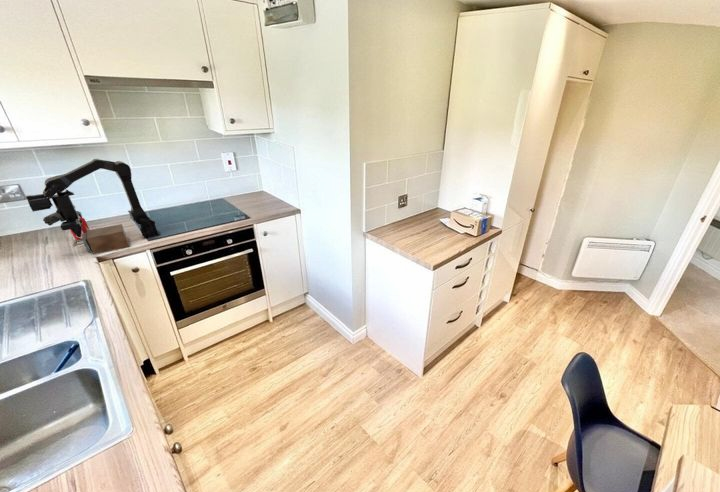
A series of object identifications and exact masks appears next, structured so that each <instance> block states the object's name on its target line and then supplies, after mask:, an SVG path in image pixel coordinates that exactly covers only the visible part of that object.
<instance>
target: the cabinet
mask: <svg viewBox="0 0 720 492" xmlns="http://www.w3.org/2000/svg"><path fill="white" fill-rule="evenodd" d="M86 239H87V241H88V243H89V245H90V247H91V249H92V253H93V255H97V254H101V253H106V252H110V251H111V252H112V251H116V250H122V249H124V248H130V243H129V239H128V236H127V233H126V231H125V228H124V226H123V224H122V223H121V224H115V225H109V226H103V227H98V228H92V229H90V230H87V237H86Z"/></svg>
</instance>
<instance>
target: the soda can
mask: <svg viewBox="0 0 720 492" xmlns="http://www.w3.org/2000/svg"><path fill="white" fill-rule="evenodd" d="M77 220H82V230H81V237H77V236H76V234H75V233H74V232H73V231H72V230H71V229H69V231H70V233H71V235H72V237H73V239H74V240H77V241H78V240H83V233H87V230H91V229H90V228H89V225H88V223H87V220H86V219H85V218H84V217H83V216H82V217H81V218H80V216H79V219H77Z"/></svg>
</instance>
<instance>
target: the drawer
mask: <svg viewBox="0 0 720 492" xmlns="http://www.w3.org/2000/svg"><path fill="white" fill-rule="evenodd" d="M86 237H87V233H83V240H75V239H74V240H73V241H72V247H74V248H76V247H77V246H82V245H84V247H85V249H86V251H87V253H88V254H91V253H93V251H92V249H91V247H90V245H89V243H88V241H87V239H86Z"/></svg>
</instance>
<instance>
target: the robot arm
mask: <svg viewBox="0 0 720 492" xmlns="http://www.w3.org/2000/svg"><path fill="white" fill-rule="evenodd" d="M100 169H102V170H106V171H111V172H115V174H116V176H117V177H118V179H119V180H120V182H121V185H122V187H123V189H124V193H125V195H126V198H127V200H128V203H129V205H130V210H127V212H128V214H129V219H131V220H132V221H133V222H135V223H136V224H137V225H139V226H140V228H139V231H140V233H141V235H142V237H143V238H144V239H148V238H152V237H158V236H159V235H160V234H159V232H158V229H157V225H156V221H155V220H154V219H152V218H151V216H148V215H147V213H146V212H145V210H144V209H143V208H142V206H141V203H140V199H139V197H138V194H137V191H136V189H135V187H134V184H133V180H132V169H131V167H130V165H128V164H127V163H126V162H123V161H121V160H116V161H111V160H105V159H99V158H94V159H92V160H91V161H89V162H86V163H85V164H82V165H81V166H78V167H77V168H74V169H72V170H69V172H66V173H63V174H59V175H55V176H54V175H53V176H52V177H48V178H45V180H44V186H45V187H44V189H43V191H42V193H39V194H31V195H29V194H28V195H26V196H25V199H26V200H27V202H28V203H27V204H28V205H29V208H30V209H31V211H32V212H33V213H34V212H39V211H44V210H51V208H52V207H54V206H55V208H56V210H55V212H53V213H50V214H48V215H46V216H44V217H43V219H42V221H43V222H44V224H46V225H48V226H50V227H51V226H52V225H54V224H56V223H58V222H61V223H60V229H61V231H68V230H69V231H70V229H71V230H72V231H73V232H74V233H75V234H76V236H77V237H81V230H82V220H77V219H79V216H80V218H81V217H82V218H83V214H82V211H79V210H76V206H75V205H74V203H73V201H72V199H71V197H70V196H74V195H75V193H74V192H73V191H70V190H69V189H68V188H69V187H71V186H72V185H73V184H74V183H75V182H77V181H79V180H80V179H83V178H84V177H86V176H88V175H90V174H92V173H94V172H97V171H99V170H100ZM51 200H52V201H51ZM53 204H54V205H53Z"/></svg>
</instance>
